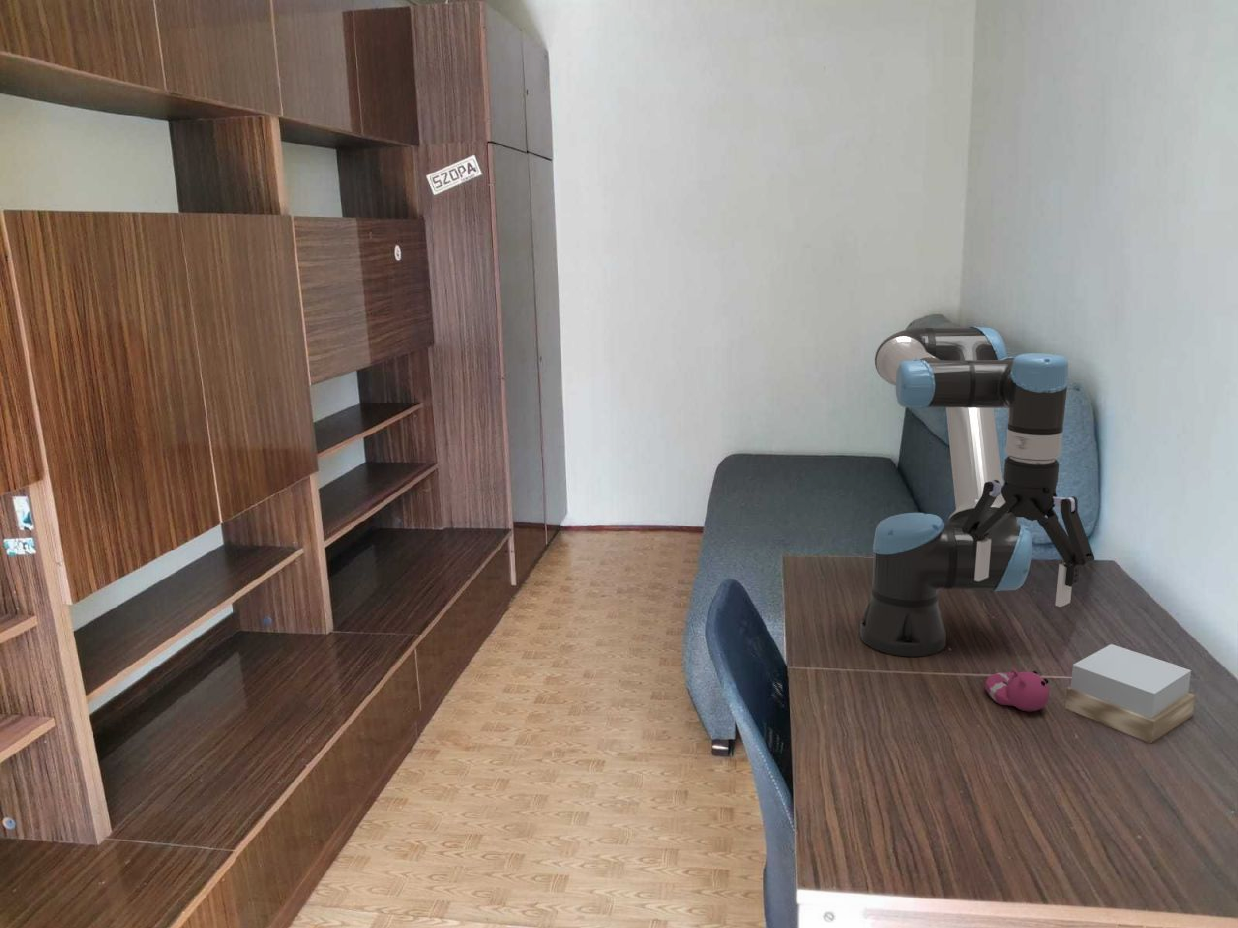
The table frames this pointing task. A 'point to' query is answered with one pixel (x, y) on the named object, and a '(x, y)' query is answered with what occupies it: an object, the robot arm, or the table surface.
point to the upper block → (1131, 680)
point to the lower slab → (1130, 715)
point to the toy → (1018, 689)
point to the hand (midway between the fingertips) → (1020, 591)
